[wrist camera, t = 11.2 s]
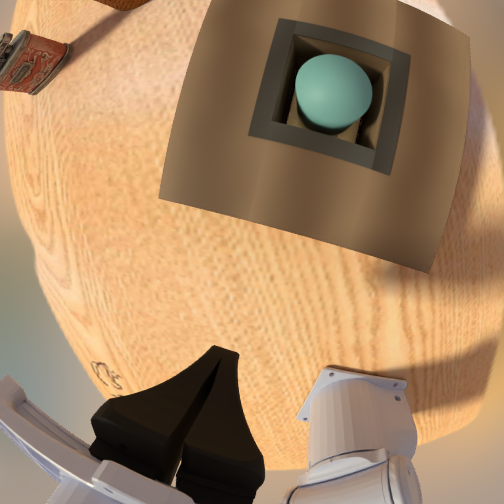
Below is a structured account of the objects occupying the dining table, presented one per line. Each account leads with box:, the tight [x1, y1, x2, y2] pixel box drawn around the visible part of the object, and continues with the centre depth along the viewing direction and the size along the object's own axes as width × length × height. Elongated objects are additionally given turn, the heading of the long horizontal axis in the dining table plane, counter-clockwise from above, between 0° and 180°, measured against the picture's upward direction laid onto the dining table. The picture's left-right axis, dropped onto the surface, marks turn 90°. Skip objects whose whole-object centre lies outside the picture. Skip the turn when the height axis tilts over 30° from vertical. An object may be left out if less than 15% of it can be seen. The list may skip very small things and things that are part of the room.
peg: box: [295, 54, 372, 136], centre depth 14 cm, size 4×4×5 cm
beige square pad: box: [287, 87, 361, 143], centre depth 16 cm, size 5×5×1 cm
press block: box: [159, 0, 471, 274], centre depth 14 cm, size 16×16×6 cm
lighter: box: [0, 30, 73, 95], centre depth 14 cm, size 8×3×10 cm, turn 113°
